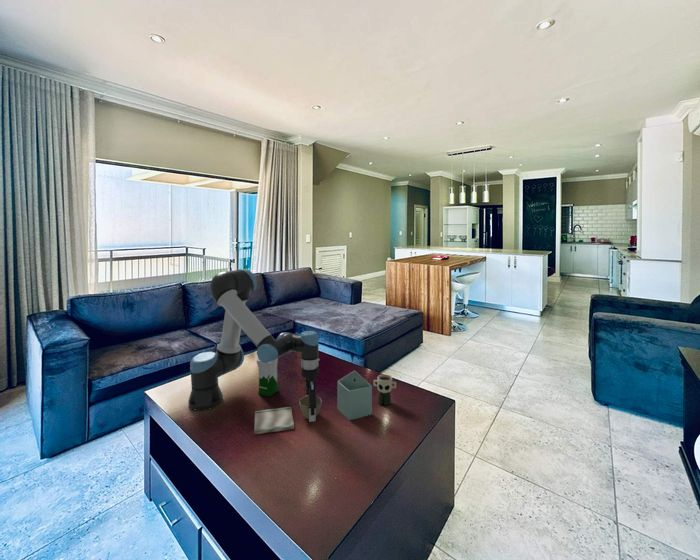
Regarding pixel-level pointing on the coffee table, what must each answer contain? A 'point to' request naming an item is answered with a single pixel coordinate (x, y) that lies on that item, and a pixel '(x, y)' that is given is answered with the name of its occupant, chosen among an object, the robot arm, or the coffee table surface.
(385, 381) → the character mug
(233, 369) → the robot arm
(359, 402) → the planter
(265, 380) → the milk carton
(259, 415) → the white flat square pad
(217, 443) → the coffee table surface
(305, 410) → the flower pot
